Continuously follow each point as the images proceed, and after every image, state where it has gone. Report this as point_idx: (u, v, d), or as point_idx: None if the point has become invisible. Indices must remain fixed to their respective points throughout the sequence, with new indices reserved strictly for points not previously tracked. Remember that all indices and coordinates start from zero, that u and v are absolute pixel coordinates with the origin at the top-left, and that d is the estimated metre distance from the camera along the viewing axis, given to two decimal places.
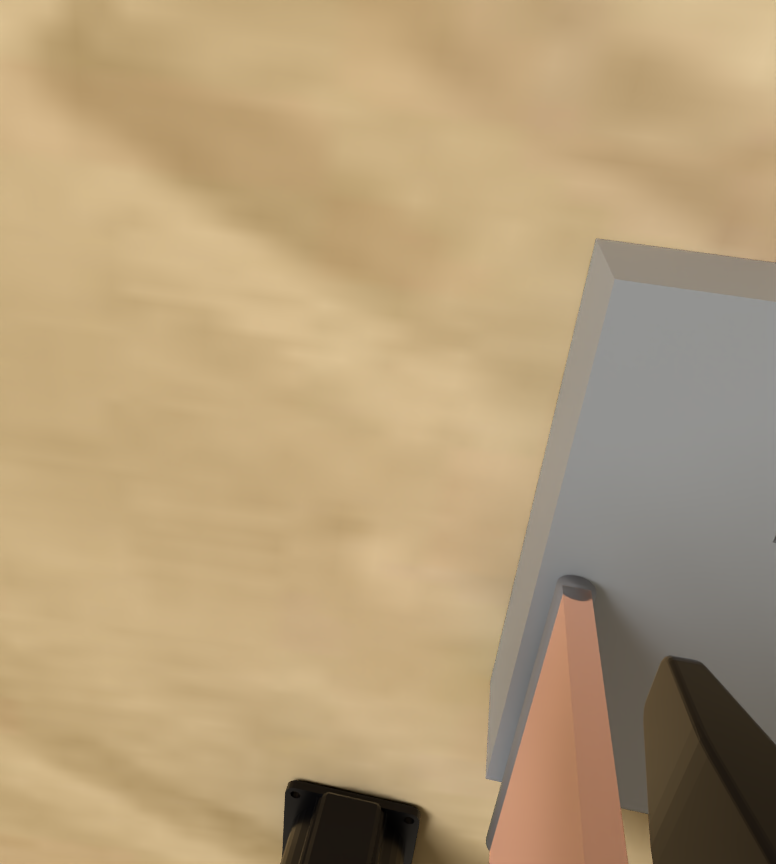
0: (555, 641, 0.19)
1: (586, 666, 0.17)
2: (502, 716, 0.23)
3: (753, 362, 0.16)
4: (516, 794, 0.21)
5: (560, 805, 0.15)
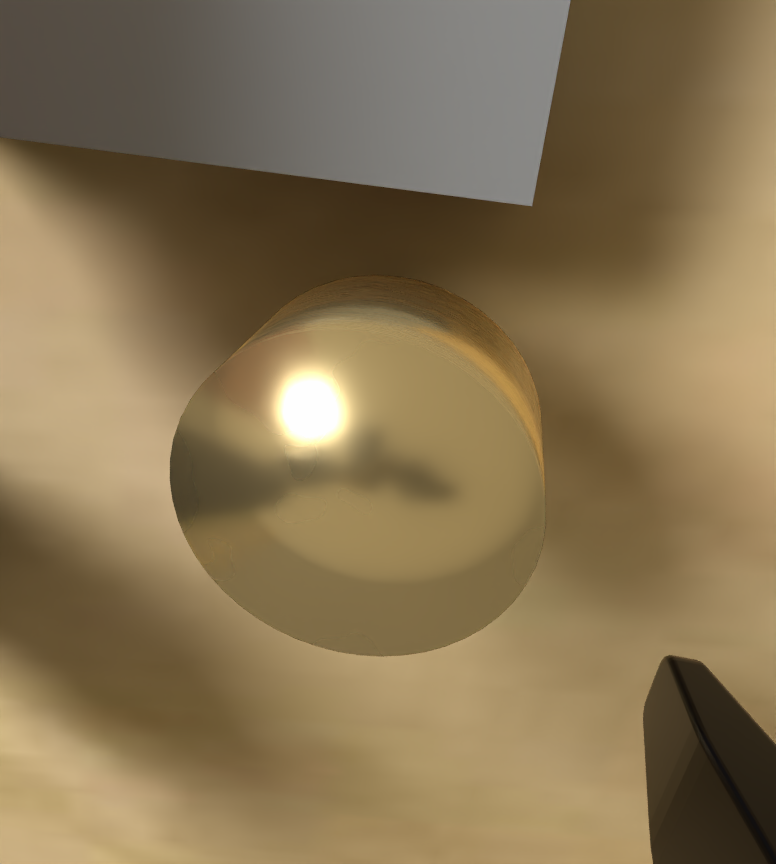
0: None
1: None
2: None
3: None
4: None
5: None
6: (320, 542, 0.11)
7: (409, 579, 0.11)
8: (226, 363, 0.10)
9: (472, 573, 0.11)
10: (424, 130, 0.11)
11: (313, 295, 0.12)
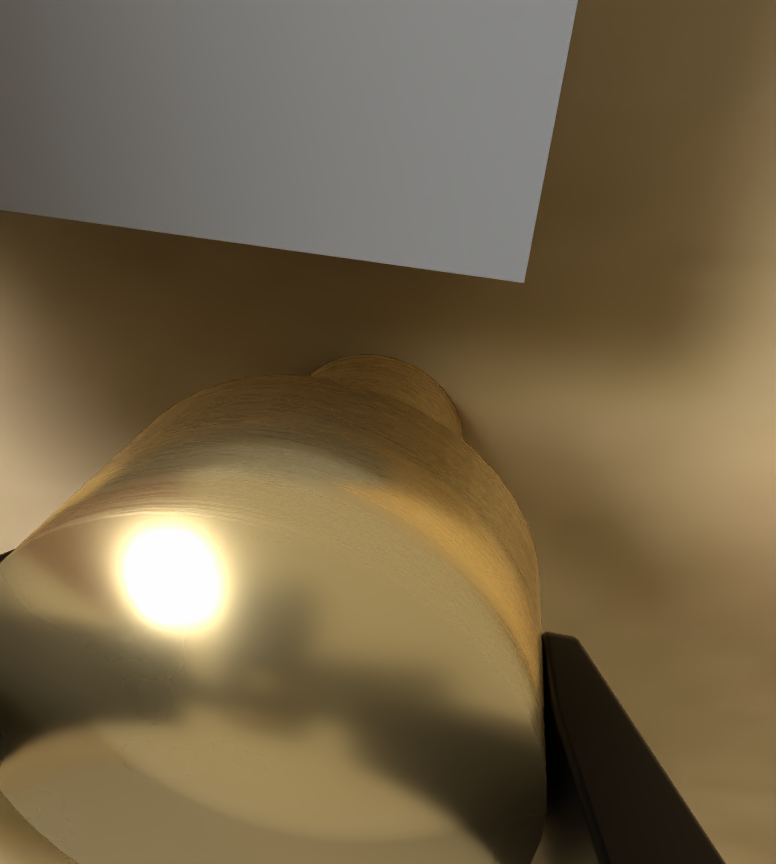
0: None
1: None
2: None
3: None
4: None
5: None
6: (194, 805, 0.07)
7: (333, 862, 0.07)
8: (12, 556, 0.06)
9: None
10: (351, 164, 0.07)
11: (191, 411, 0.08)
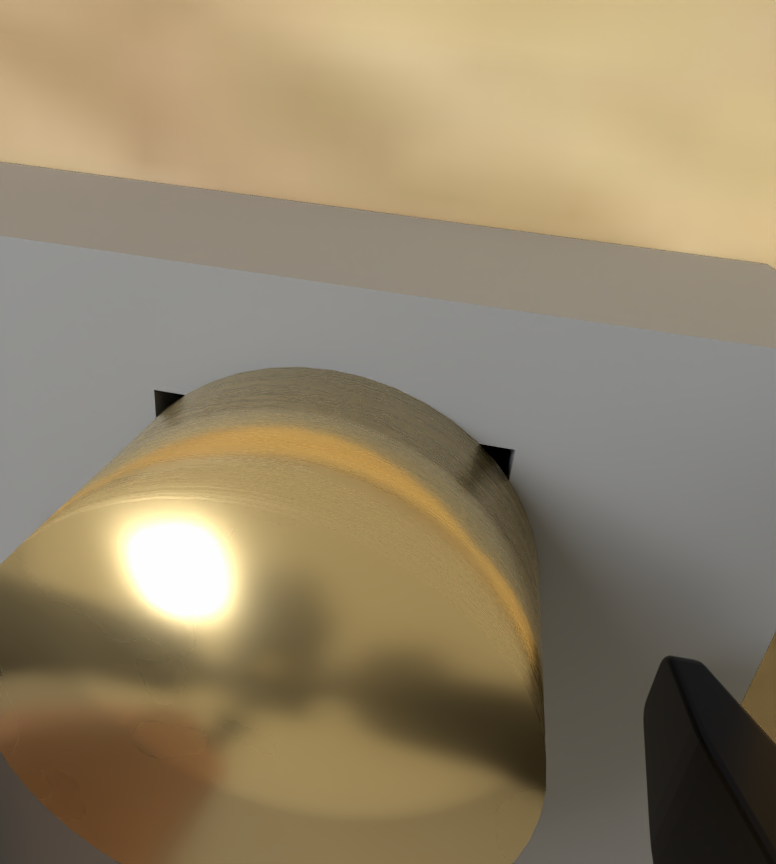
0: None
1: None
2: None
3: None
4: None
5: None
6: (204, 784, 0.07)
7: (339, 839, 0.07)
8: (29, 541, 0.06)
9: (433, 839, 0.07)
10: None
11: (199, 402, 0.08)
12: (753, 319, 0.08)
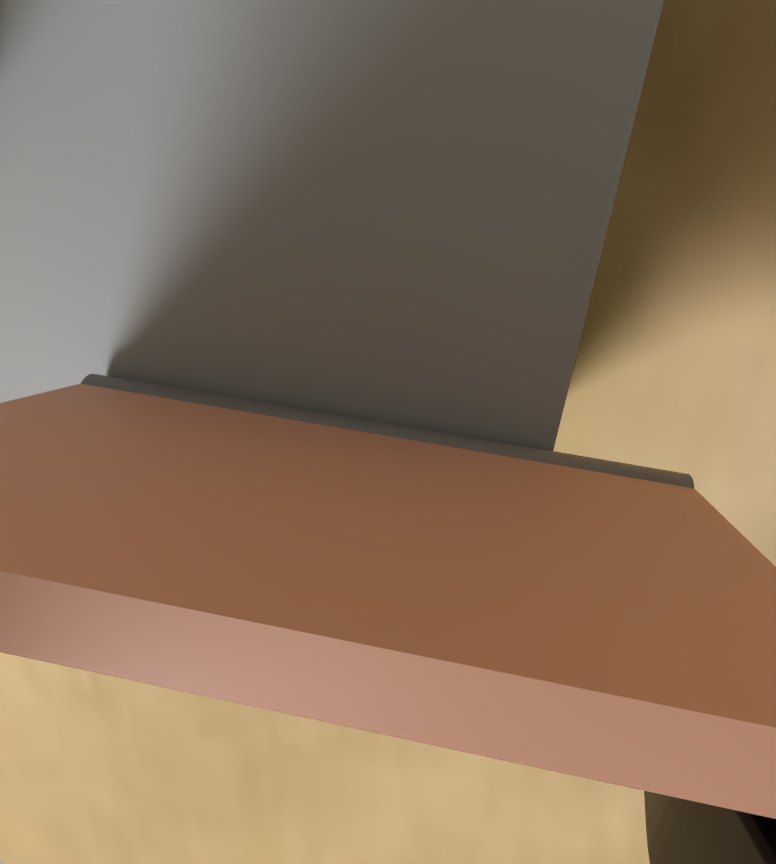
0: None
1: None
2: None
3: None
4: None
5: None
6: None
7: None
8: None
9: None
10: None
11: None
12: None
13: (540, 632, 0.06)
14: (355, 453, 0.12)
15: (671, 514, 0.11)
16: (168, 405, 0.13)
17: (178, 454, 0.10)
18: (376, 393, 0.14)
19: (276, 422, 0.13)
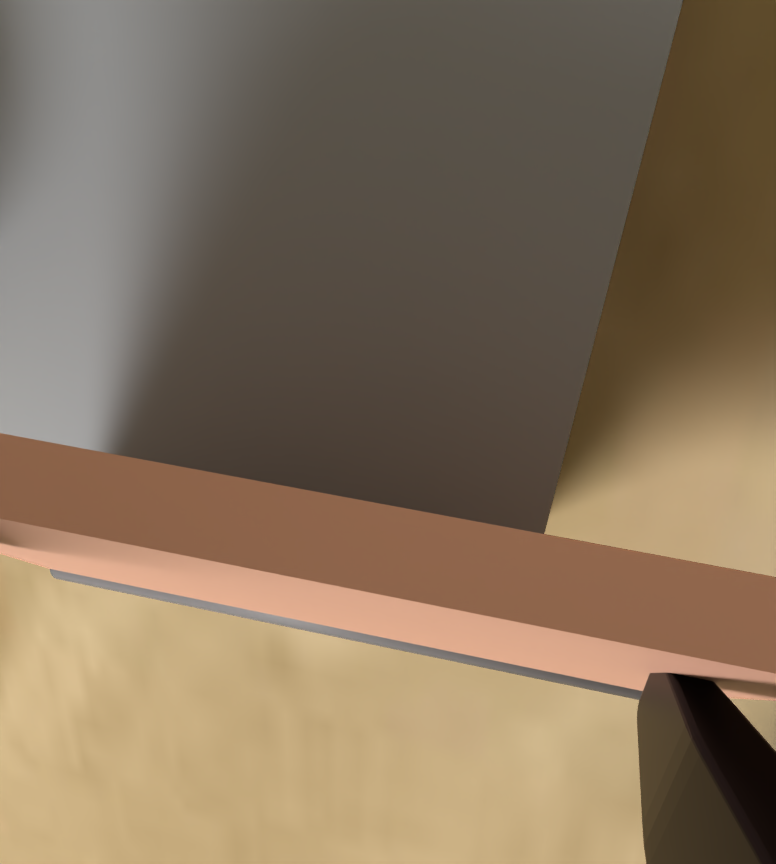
0: (83, 574, 0.13)
1: None
2: None
3: None
4: (373, 632, 0.12)
5: None
6: None
7: None
8: None
9: None
10: None
11: None
12: None
13: None
14: None
15: None
16: None
17: None
18: None
19: None
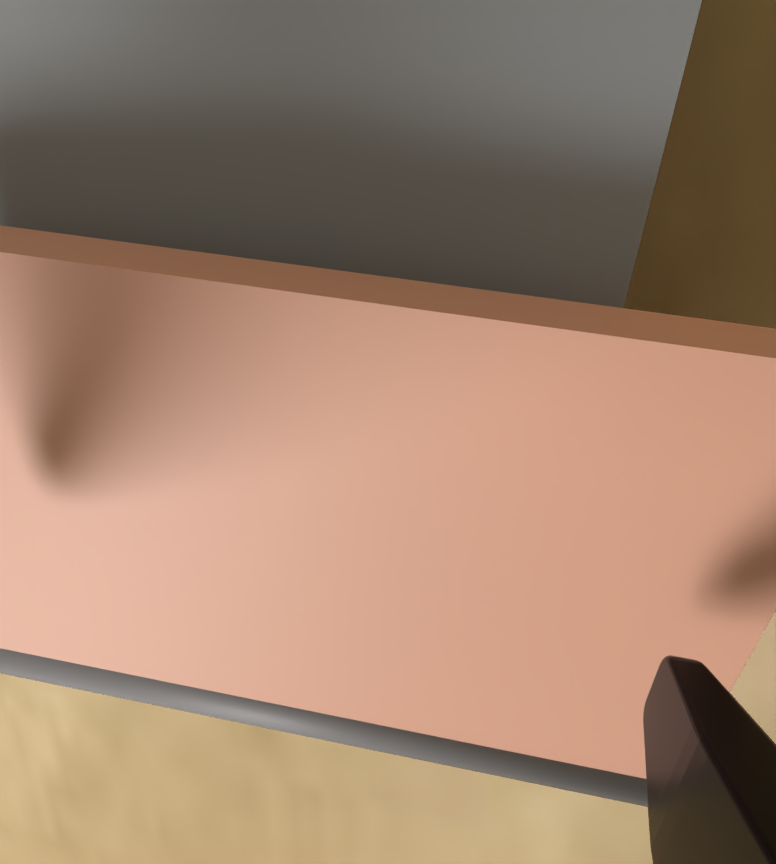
0: (42, 632, 0.12)
1: None
2: None
3: None
4: (366, 670, 0.11)
5: (0, 414, 0.09)
6: None
7: None
8: None
9: None
10: None
11: None
12: None
13: None
14: None
15: None
16: None
17: None
18: None
19: None
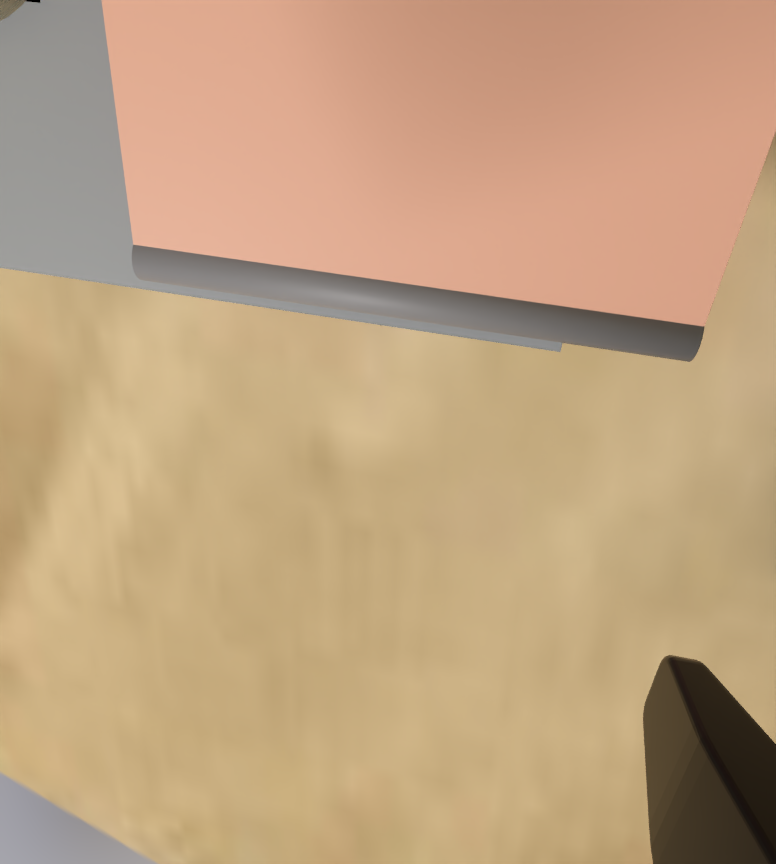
0: (177, 218, 0.14)
1: None
2: (419, 329, 0.16)
3: None
4: (452, 222, 0.14)
5: None
6: None
7: None
8: None
9: None
10: None
11: None
12: None
13: None
14: None
15: None
16: None
17: None
18: None
19: None
